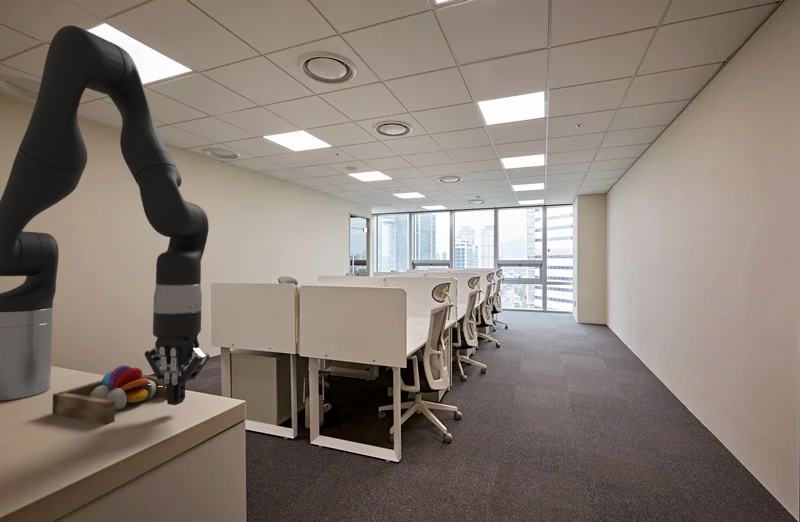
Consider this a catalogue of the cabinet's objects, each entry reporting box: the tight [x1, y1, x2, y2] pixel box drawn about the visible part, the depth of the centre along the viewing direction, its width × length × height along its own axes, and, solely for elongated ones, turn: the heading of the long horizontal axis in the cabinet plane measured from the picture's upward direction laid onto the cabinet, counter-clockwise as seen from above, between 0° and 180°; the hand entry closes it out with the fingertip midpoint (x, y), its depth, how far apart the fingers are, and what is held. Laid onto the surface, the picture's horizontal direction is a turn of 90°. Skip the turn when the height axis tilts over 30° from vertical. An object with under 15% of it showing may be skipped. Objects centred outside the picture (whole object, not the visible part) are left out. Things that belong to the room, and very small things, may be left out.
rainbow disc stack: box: [90, 364, 157, 411], centre depth 71 cm, size 8×10×7 cm
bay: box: [51, 374, 167, 425], centre depth 69 cm, size 13×14×4 cm
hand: (175, 403), depth 66 cm, fingers closed
